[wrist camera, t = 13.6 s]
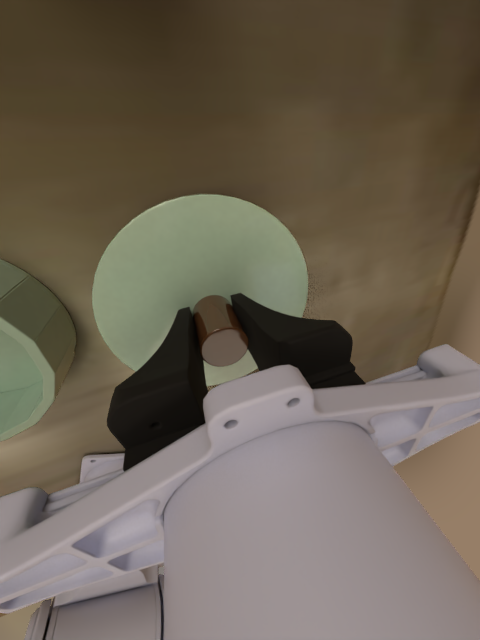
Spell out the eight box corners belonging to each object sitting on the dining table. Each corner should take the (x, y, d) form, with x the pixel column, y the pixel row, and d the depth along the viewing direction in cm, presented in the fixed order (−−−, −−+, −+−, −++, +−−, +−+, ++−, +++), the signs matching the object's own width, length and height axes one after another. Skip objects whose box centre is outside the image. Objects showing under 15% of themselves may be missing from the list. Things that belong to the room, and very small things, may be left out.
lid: (333, 236, 15) (389, 260, 11) (258, 381, 20) (279, 428, 16) (110, 144, 10) (79, 131, 6) (88, 369, 15) (64, 434, 11)
